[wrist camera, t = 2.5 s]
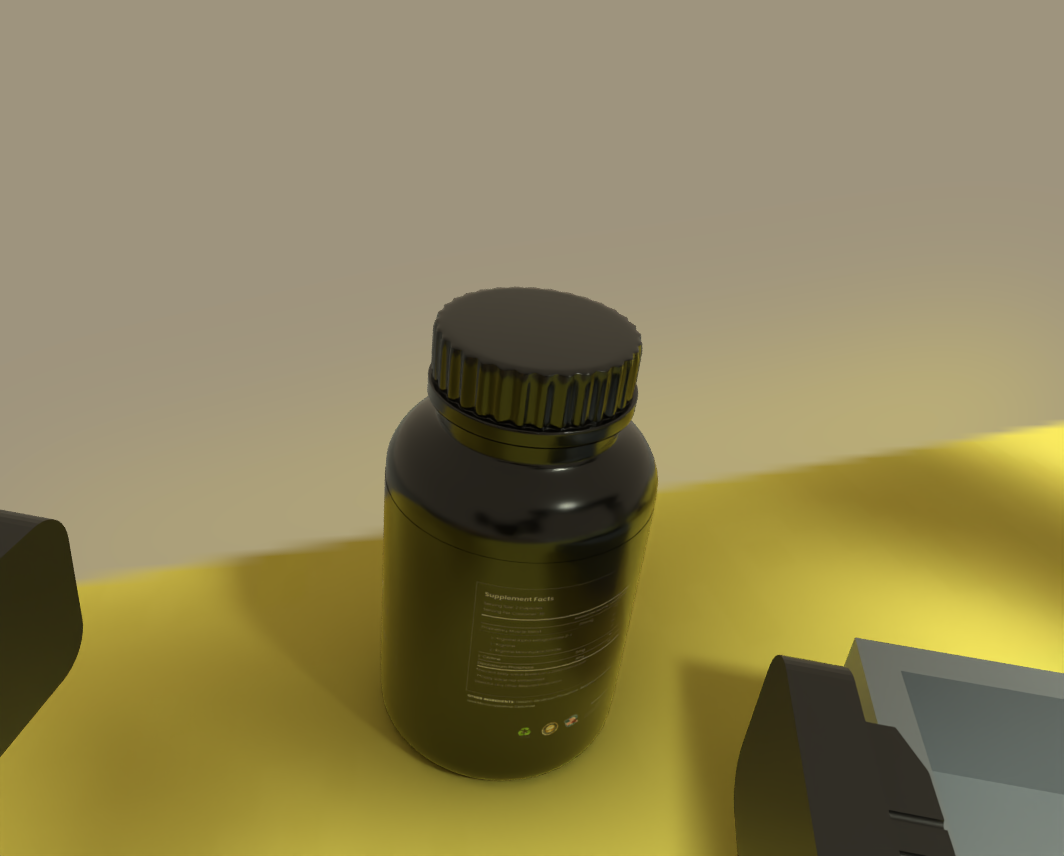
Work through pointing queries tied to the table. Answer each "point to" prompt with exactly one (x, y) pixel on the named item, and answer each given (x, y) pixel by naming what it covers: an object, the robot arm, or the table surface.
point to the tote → (975, 741)
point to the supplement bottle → (514, 533)
